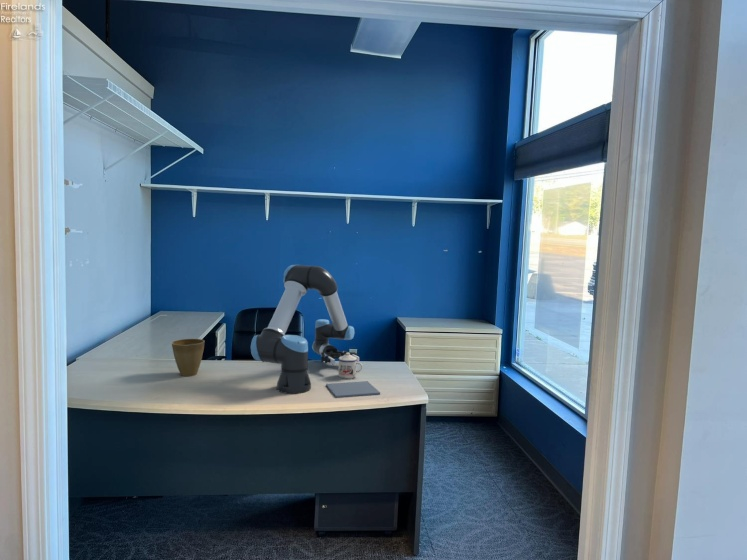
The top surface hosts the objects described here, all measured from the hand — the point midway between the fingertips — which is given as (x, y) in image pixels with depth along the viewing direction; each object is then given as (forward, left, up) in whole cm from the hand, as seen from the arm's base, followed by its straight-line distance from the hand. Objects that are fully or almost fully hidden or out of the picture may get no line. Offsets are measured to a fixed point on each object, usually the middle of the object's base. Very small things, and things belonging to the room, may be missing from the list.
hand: (346, 361), depth 263 cm
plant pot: (-75, +15, -7) cm, 76 cm away
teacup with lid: (0, -6, -7) cm, 9 cm away
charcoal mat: (-5, -27, -6) cm, 28 cm away
